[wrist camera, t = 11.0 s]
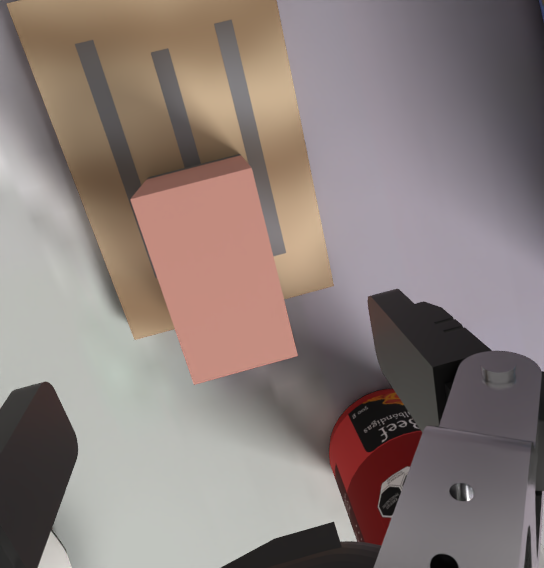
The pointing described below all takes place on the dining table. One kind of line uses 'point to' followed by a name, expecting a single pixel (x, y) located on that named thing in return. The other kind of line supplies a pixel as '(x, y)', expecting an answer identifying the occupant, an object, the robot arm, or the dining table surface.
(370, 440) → the canned food
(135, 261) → the board
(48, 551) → the milk container
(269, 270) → the block
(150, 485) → the dining table surface
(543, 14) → the lunch box
